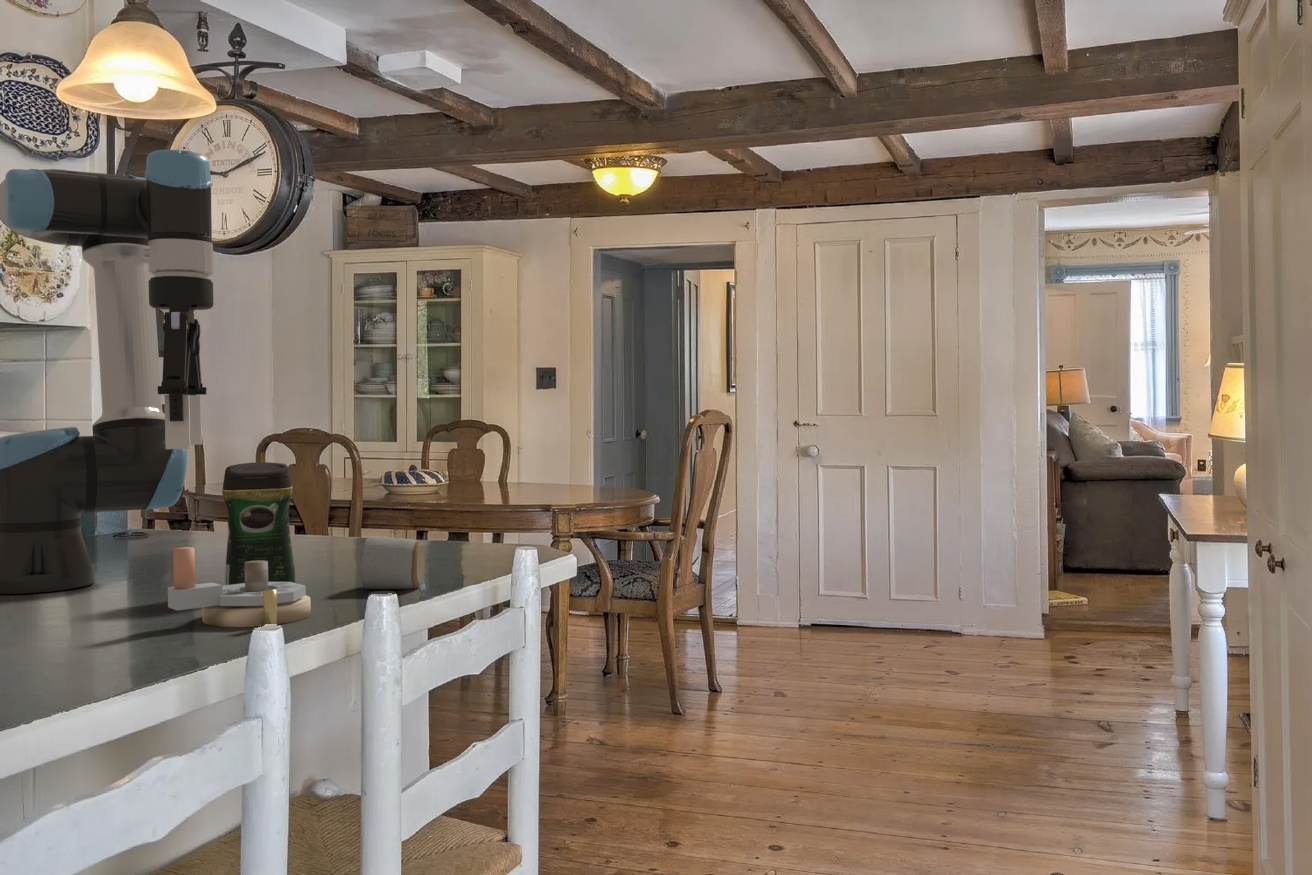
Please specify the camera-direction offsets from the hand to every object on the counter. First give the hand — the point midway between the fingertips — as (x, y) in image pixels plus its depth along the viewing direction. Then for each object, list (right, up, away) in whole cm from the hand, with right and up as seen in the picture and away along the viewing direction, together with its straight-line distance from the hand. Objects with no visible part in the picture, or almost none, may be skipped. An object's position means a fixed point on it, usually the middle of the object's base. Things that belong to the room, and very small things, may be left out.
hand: (184, 447), depth 146 cm
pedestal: (+9, -22, +1) cm, 23 cm away
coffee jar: (+2, -21, +21) cm, 30 cm away
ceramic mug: (+21, -21, +24) cm, 38 cm away
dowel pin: (+13, -22, -6) cm, 26 cm away
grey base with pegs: (+7, -19, -1) cm, 20 cm away
